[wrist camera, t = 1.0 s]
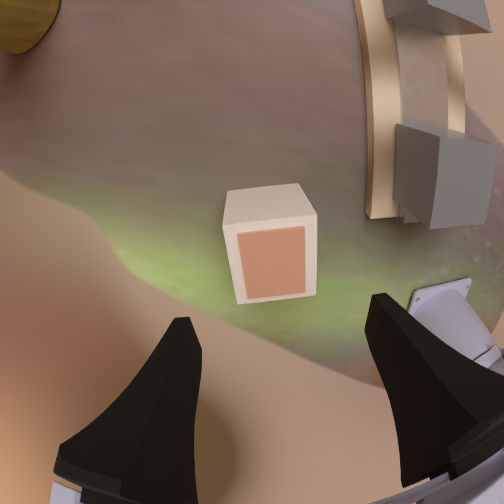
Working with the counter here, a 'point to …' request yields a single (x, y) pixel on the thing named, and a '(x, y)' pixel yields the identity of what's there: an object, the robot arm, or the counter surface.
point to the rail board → (422, 113)
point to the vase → (24, 23)
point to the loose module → (271, 243)
